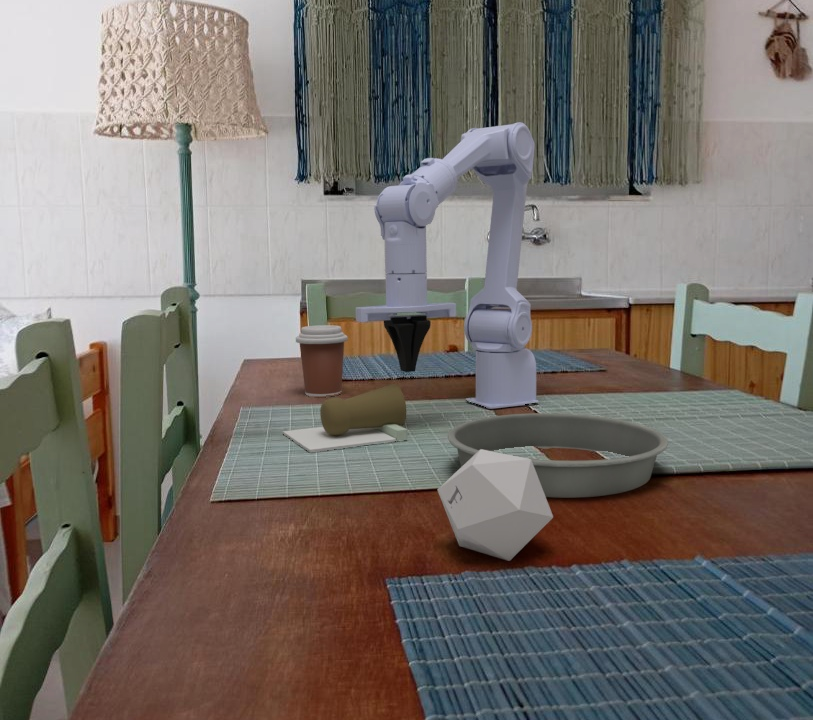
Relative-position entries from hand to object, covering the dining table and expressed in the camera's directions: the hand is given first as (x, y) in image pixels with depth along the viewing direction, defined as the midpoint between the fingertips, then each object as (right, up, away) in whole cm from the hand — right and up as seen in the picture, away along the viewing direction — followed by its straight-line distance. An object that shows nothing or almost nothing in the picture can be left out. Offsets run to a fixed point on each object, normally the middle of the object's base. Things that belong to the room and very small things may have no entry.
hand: (407, 370), depth 114 cm
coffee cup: (-15, -5, +30) cm, 34 cm away
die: (+7, -15, -45) cm, 48 cm away
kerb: (-3, -9, 0) cm, 9 cm away
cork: (-1, -5, 0) cm, 5 cm away
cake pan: (+17, -12, -21) cm, 29 cm away
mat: (-10, -9, -3) cm, 14 cm away
